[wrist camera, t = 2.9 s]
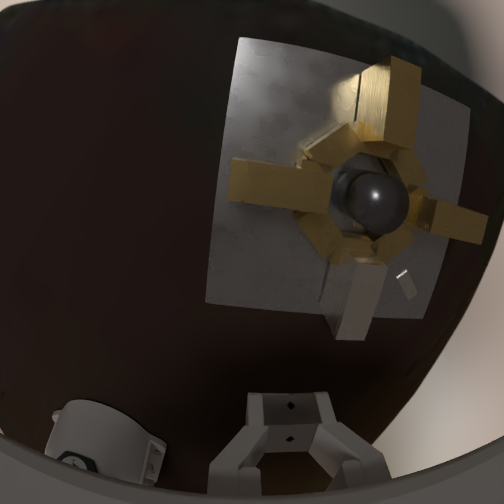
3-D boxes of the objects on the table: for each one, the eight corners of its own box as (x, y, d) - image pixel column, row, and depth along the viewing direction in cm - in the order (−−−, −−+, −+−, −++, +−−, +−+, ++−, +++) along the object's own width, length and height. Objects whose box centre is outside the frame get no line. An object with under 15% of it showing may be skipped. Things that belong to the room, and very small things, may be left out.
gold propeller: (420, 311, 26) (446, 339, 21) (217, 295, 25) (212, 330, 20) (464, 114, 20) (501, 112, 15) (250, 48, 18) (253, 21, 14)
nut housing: (414, 309, 29) (446, 344, 22) (207, 292, 27) (198, 335, 21) (458, 109, 22) (504, 106, 15) (239, 45, 20) (239, 10, 14)
